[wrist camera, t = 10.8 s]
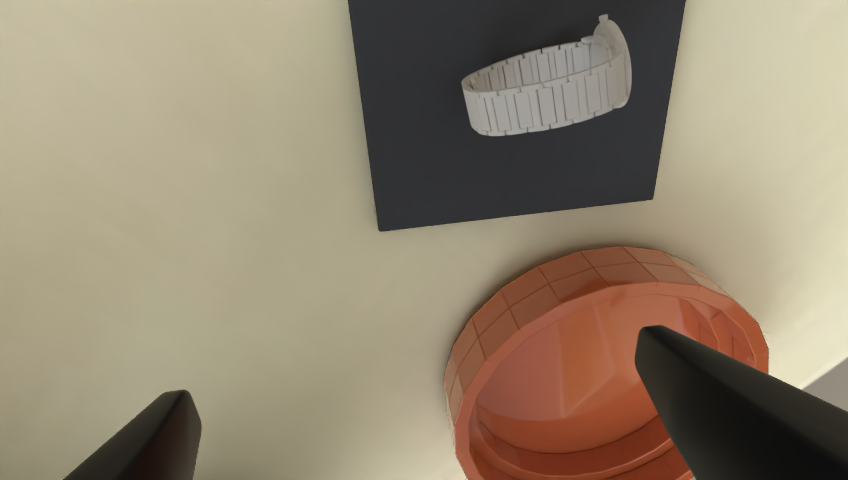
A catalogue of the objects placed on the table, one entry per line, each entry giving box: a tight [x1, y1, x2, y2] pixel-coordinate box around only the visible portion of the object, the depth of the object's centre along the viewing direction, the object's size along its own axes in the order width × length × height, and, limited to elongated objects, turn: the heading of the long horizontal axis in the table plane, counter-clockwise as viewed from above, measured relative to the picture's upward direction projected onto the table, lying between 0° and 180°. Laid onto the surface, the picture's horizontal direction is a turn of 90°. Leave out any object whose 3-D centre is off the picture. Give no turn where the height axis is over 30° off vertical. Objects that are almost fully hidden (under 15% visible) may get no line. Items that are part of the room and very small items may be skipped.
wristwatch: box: [462, 14, 633, 136], centre depth 15 cm, size 3×5×5 cm, turn 106°
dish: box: [444, 246, 769, 480], centre depth 24 cm, size 15×15×4 cm
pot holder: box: [348, 0, 686, 232], centre depth 18 cm, size 12×12×1 cm
